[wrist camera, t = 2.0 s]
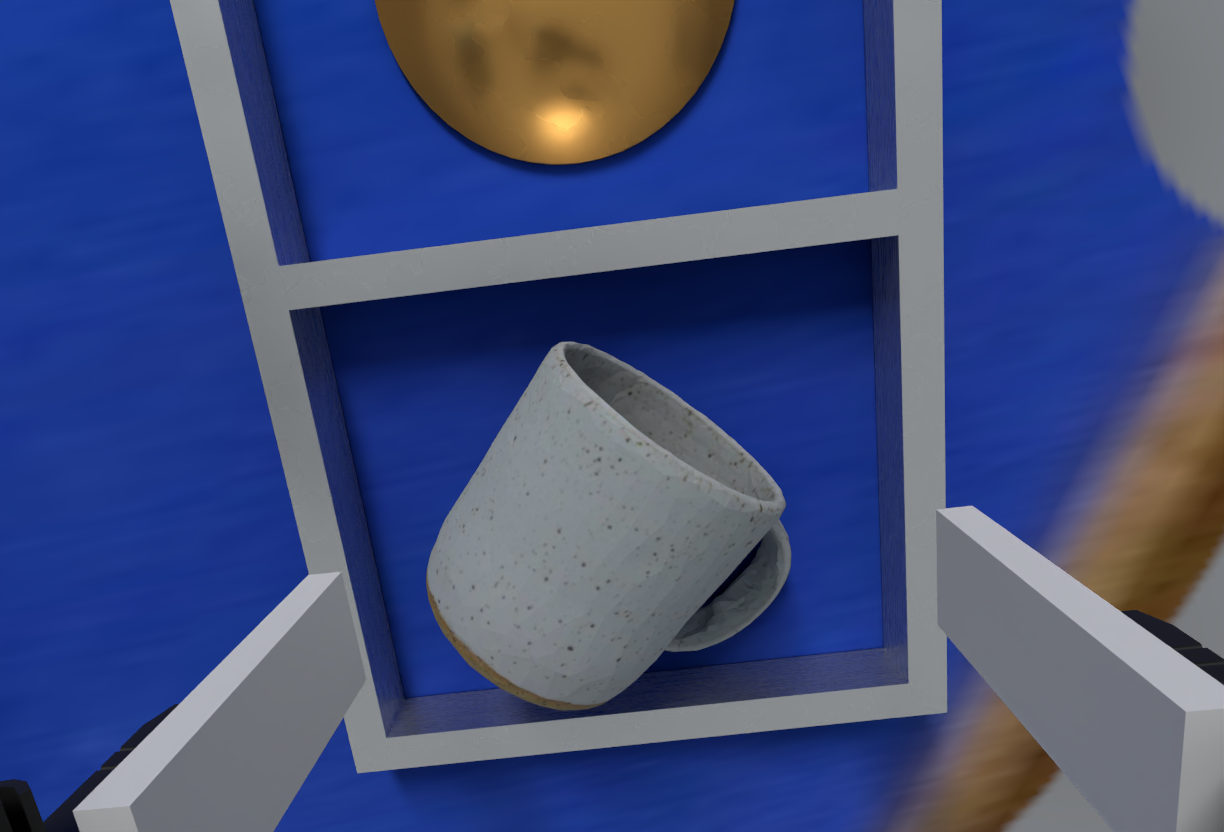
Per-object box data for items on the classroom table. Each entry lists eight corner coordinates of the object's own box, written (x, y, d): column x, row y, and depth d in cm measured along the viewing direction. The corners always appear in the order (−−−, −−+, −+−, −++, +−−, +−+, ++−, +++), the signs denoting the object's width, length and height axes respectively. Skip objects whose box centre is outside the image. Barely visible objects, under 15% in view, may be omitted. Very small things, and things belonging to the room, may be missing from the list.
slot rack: (378, 731, 24) (357, 773, 22) (131, -336, 17) (69, -412, 15) (919, 674, 24) (947, 712, 22) (898, -452, 16) (937, -548, 14)
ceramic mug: (440, 523, 22) (363, 654, 15) (565, 321, 21) (546, 360, 14) (695, 668, 24) (735, 849, 17) (829, 489, 22) (938, 604, 15)
